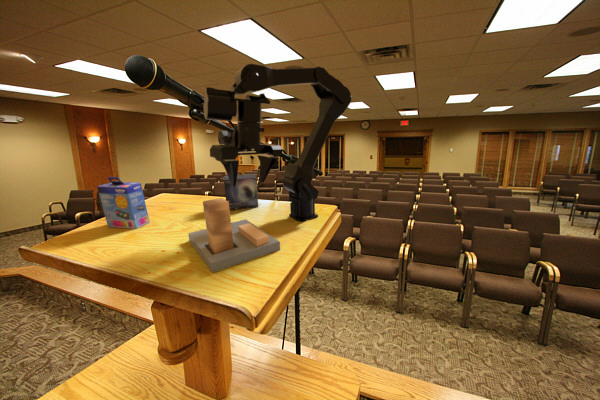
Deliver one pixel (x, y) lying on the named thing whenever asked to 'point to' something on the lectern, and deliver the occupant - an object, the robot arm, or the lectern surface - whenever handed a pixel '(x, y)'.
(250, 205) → the small box
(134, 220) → the ink cartridge box
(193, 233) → the baseplate
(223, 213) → the ochre column
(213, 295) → the lectern surface
